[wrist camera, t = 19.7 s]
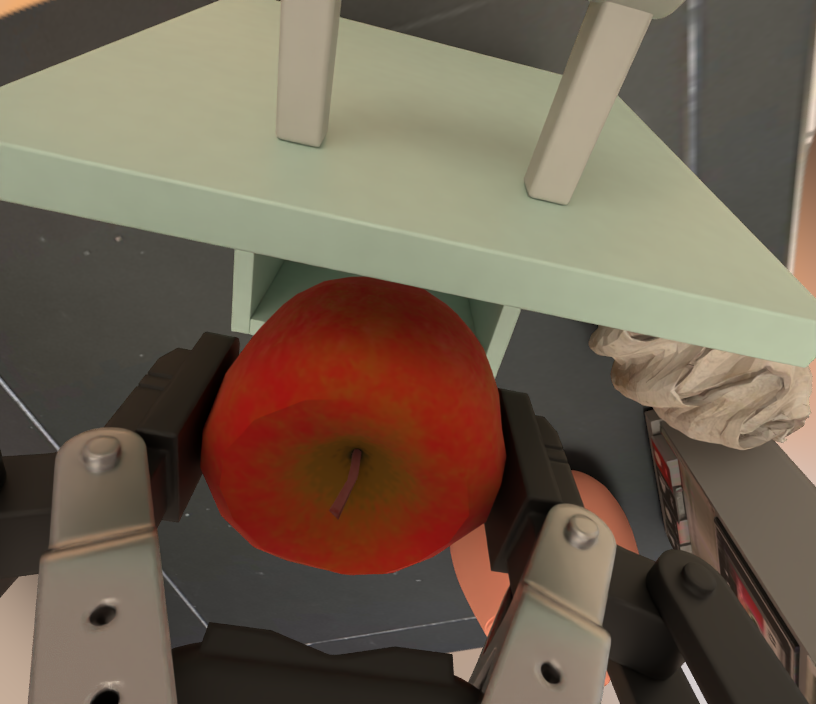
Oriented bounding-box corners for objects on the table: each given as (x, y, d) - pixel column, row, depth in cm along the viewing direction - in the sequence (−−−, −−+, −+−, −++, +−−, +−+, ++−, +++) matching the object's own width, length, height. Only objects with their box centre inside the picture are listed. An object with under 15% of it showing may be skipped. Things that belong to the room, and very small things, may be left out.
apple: (464, 208, 14) (508, 352, 7) (485, 389, 17) (528, 600, 11) (243, 245, 14) (109, 408, 8) (303, 414, 18) (241, 627, 11)
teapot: (568, 387, 36) (631, 528, 25) (642, 552, 45) (711, 705, 34) (401, 453, 39) (396, 601, 29) (501, 593, 48) (525, 745, 38)
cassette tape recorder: (639, 410, 37) (950, 923, 15) (729, 386, 35) (1201, 907, 14) (661, 531, 43) (899, 1005, 22) (737, 514, 42) (1067, 998, 21)
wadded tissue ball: (601, 405, 36) (658, 516, 28) (538, 218, 29) (588, 290, 21) (752, 354, 34) (865, 458, 26) (723, 139, 27) (864, 183, 19)
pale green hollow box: (473, 292, 32) (494, 381, 24) (280, 252, 31) (230, 331, 22) (540, 80, 26) (601, 98, 17) (302, 19, 25) (244, 6, 16)
